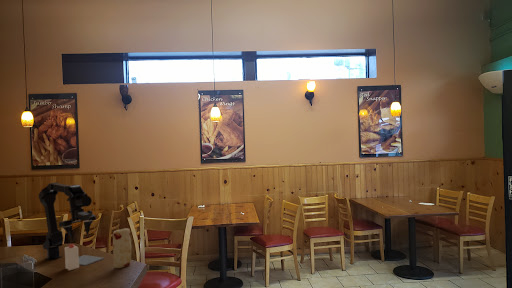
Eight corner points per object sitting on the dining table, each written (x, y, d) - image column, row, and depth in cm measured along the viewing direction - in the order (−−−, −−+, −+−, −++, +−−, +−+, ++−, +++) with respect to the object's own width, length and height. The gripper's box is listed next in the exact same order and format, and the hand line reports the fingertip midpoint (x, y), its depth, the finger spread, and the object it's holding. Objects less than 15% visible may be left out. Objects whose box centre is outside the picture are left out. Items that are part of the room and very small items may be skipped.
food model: (117, 270, 189) (115, 231, 189) (111, 268, 194) (109, 229, 193) (134, 265, 197) (133, 227, 196) (128, 262, 201) (126, 226, 201)
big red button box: (65, 268, 196) (64, 244, 196) (75, 265, 200) (74, 242, 200) (69, 270, 193) (68, 246, 193) (79, 267, 197) (78, 244, 196)
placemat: (65, 262, 206) (65, 261, 206) (84, 256, 217) (84, 254, 217) (85, 265, 199) (85, 264, 199) (103, 258, 210) (103, 257, 210)
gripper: (69, 209, 192) (73, 240, 191) (100, 203, 208) (104, 231, 207) (56, 211, 197) (60, 241, 196) (87, 205, 213) (91, 232, 212)
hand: (80, 236), depth 203 cm, fingers open, 9 cm apart
